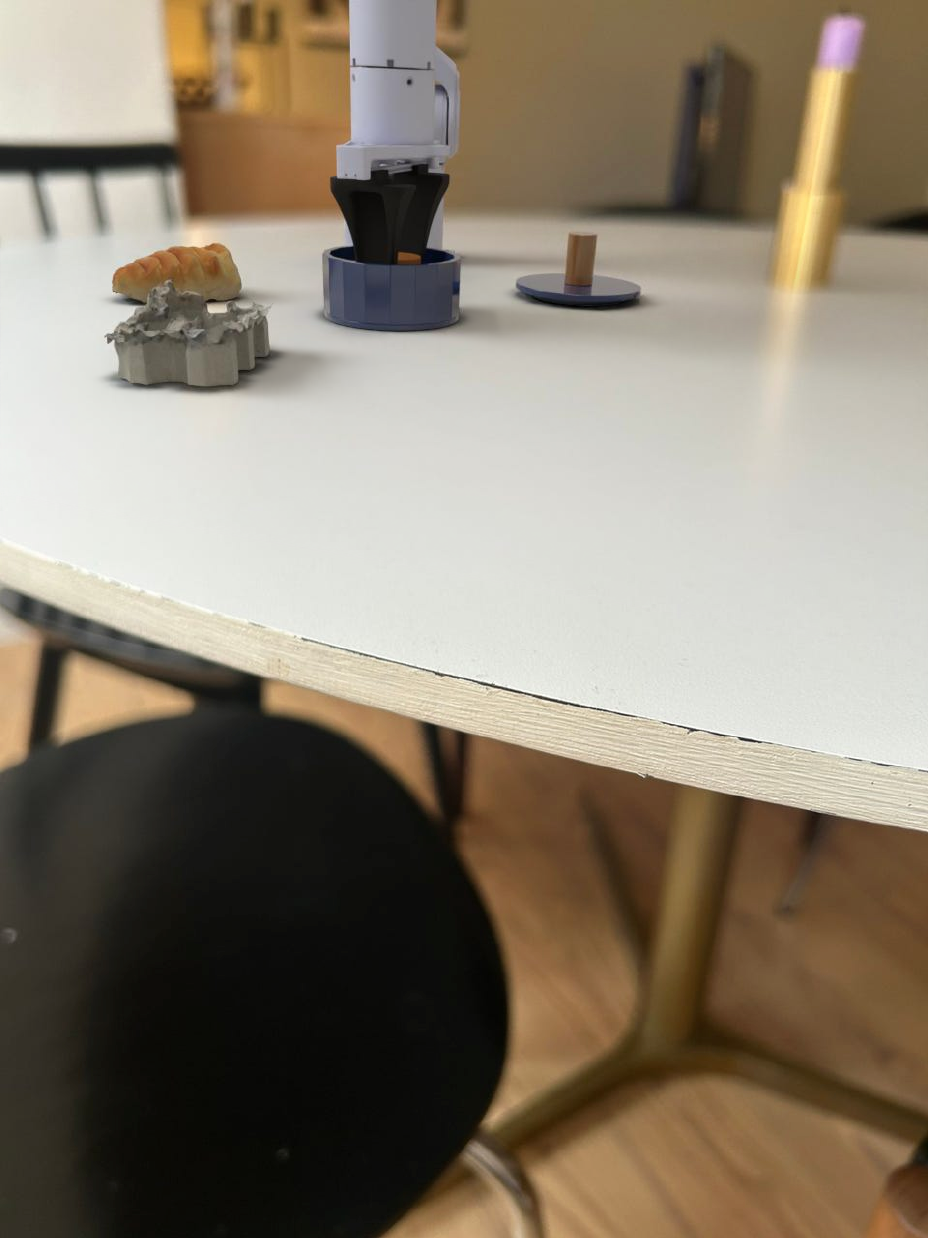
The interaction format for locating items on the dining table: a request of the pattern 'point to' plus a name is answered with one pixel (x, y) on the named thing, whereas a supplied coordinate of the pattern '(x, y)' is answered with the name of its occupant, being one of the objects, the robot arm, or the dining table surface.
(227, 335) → the egg carton
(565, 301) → the lid
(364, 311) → the pot
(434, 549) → the dining table surface
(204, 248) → the pastry
